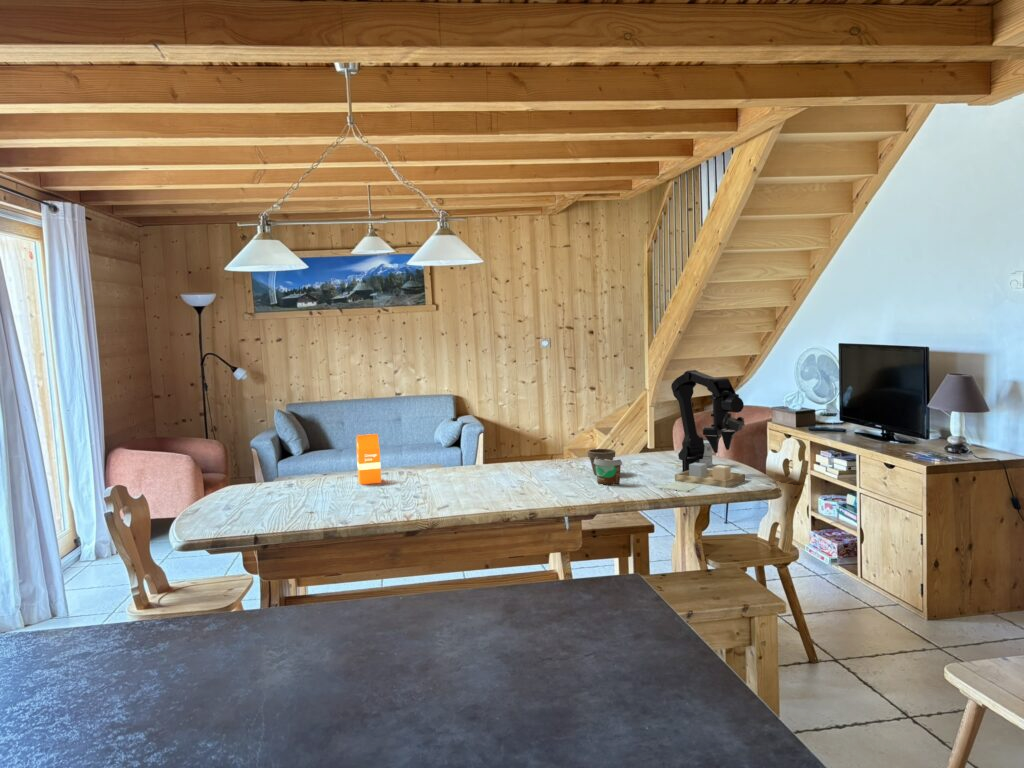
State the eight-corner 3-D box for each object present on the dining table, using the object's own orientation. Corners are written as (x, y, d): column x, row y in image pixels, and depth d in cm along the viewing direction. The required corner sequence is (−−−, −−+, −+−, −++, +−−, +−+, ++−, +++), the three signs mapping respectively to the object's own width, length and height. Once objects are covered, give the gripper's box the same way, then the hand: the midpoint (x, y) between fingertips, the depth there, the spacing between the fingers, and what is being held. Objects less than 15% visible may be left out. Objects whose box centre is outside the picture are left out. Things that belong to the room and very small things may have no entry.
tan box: (712, 482, 292) (712, 466, 292) (718, 480, 296) (718, 464, 296) (724, 483, 289) (724, 468, 289) (730, 481, 293) (730, 466, 292)
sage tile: (661, 488, 287) (661, 487, 287) (675, 483, 295) (675, 481, 295) (687, 492, 280) (687, 490, 280) (701, 486, 288) (701, 485, 288)
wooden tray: (675, 482, 297) (674, 474, 297) (694, 475, 309) (694, 468, 309) (726, 488, 283) (726, 480, 283) (744, 481, 295) (744, 473, 294)
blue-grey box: (689, 479, 299) (689, 464, 299) (695, 477, 303) (695, 462, 302) (700, 481, 296) (700, 465, 295) (706, 478, 300) (706, 463, 299)
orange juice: (381, 482, 318) (379, 435, 316) (360, 484, 315) (357, 436, 313) (378, 478, 325) (376, 432, 324) (358, 480, 322) (355, 434, 321)
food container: (587, 483, 301) (587, 458, 300) (597, 480, 305) (596, 456, 305) (613, 487, 292) (612, 461, 292) (622, 484, 297) (622, 459, 296)
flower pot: (613, 471, 324) (612, 447, 323) (618, 476, 312) (617, 452, 312) (586, 472, 324) (586, 448, 323) (590, 477, 312) (589, 453, 311)
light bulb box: (710, 464, 332) (710, 439, 331) (712, 467, 325) (712, 442, 324) (685, 464, 333) (685, 440, 332) (687, 467, 326) (687, 442, 325)
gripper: (728, 413, 278) (729, 456, 279) (751, 409, 292) (752, 449, 293) (701, 413, 286) (702, 454, 287) (724, 408, 299) (725, 447, 300)
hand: (721, 451), depth 291 cm, fingers open, 9 cm apart
